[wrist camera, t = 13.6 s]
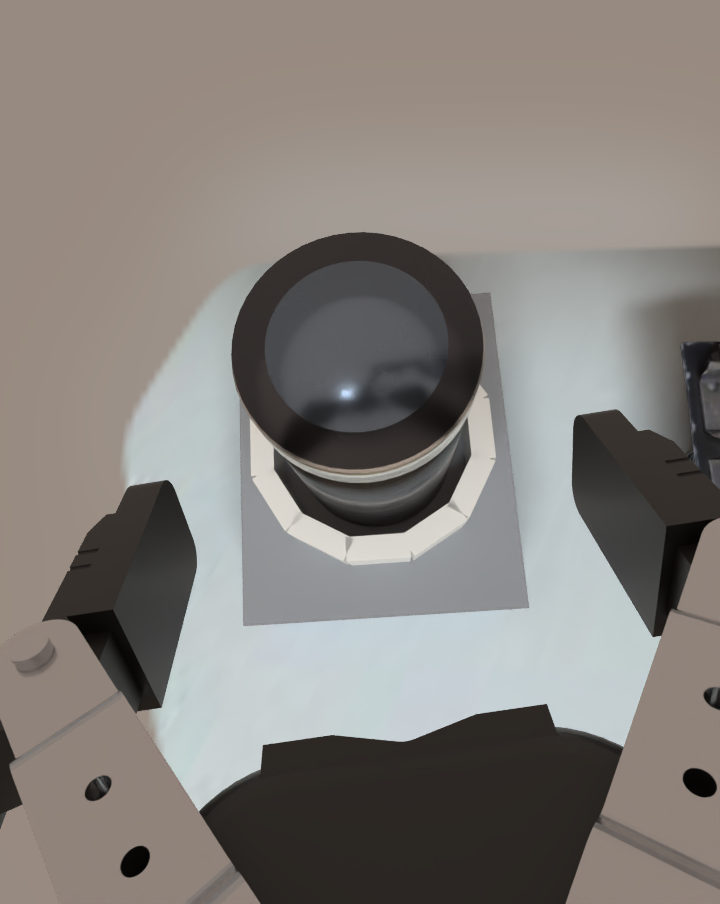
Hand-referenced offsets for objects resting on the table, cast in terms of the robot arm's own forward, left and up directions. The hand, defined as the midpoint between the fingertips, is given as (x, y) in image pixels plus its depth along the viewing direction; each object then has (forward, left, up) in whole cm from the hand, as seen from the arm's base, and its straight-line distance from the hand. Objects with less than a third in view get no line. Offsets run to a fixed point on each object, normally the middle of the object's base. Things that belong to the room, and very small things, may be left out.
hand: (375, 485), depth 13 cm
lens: (0, -3, -10) cm, 11 cm away
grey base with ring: (0, -3, -15) cm, 16 cm away
